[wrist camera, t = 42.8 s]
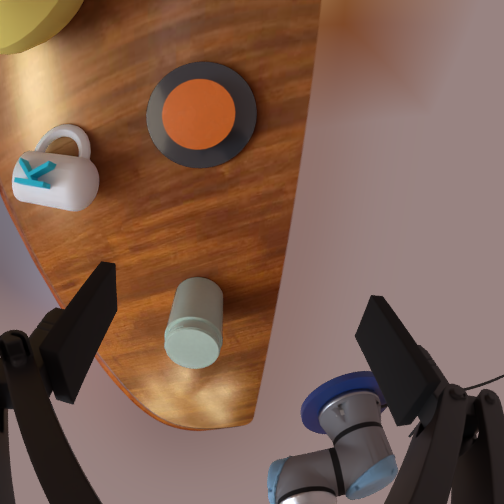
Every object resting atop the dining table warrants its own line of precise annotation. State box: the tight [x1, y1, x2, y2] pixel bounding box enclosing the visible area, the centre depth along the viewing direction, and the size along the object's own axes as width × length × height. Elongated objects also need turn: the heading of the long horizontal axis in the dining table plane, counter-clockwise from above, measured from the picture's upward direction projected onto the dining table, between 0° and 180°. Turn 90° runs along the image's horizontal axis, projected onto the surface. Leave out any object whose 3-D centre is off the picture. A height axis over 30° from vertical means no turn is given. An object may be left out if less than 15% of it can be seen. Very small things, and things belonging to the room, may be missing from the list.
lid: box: [162, 79, 235, 150], centre depth 36 cm, size 9×9×2 cm
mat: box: [146, 62, 257, 168], centre depth 37 cm, size 14×14×1 cm
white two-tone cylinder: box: [12, 124, 99, 211], centre depth 35 cm, size 12×9×12 cm
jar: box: [165, 277, 224, 369], centre depth 44 cm, size 8×8×12 cm
